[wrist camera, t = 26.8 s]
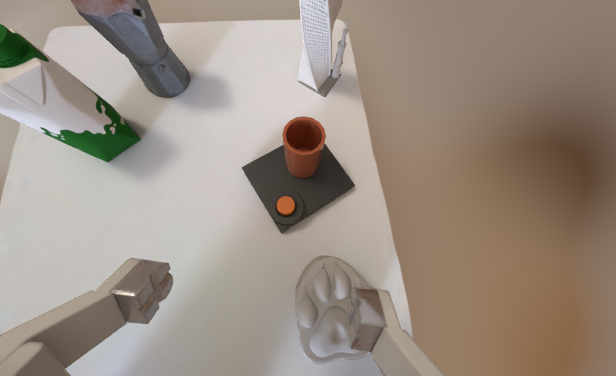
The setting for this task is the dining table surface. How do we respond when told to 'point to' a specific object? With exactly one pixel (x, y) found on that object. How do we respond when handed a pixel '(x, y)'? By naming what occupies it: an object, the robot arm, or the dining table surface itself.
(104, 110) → the milk carton
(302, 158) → the cup
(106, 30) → the moka pot
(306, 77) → the skyscraper
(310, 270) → the lumpy-topped squat cylinder
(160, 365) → the dining table surface
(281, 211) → the button
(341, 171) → the dark grey flat block
